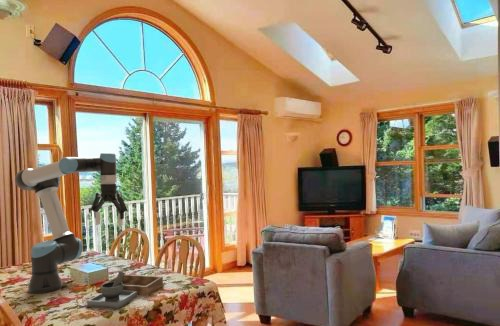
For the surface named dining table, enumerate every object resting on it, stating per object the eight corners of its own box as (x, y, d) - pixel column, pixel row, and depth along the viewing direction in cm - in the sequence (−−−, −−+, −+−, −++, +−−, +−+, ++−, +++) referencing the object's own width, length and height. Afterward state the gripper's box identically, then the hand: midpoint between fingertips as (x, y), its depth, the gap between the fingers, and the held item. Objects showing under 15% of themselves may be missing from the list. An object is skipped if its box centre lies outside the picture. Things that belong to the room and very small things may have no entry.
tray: (87, 306, 173) (87, 300, 173) (108, 294, 188) (108, 289, 188) (118, 309, 169) (117, 303, 169) (137, 296, 184) (137, 291, 184)
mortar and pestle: (106, 305, 171) (105, 278, 171) (97, 300, 177) (96, 274, 177) (130, 298, 179) (129, 272, 179) (120, 293, 185) (119, 268, 185)
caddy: (102, 293, 190) (102, 283, 190) (121, 282, 205) (121, 274, 205) (146, 296, 184) (146, 286, 184) (163, 285, 199) (162, 276, 199)
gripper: (82, 183, 198) (83, 225, 199) (125, 184, 191) (125, 227, 191) (93, 182, 205) (93, 222, 206) (134, 183, 198) (134, 224, 198)
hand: (109, 225), depth 198 cm, fingers open, 13 cm apart
